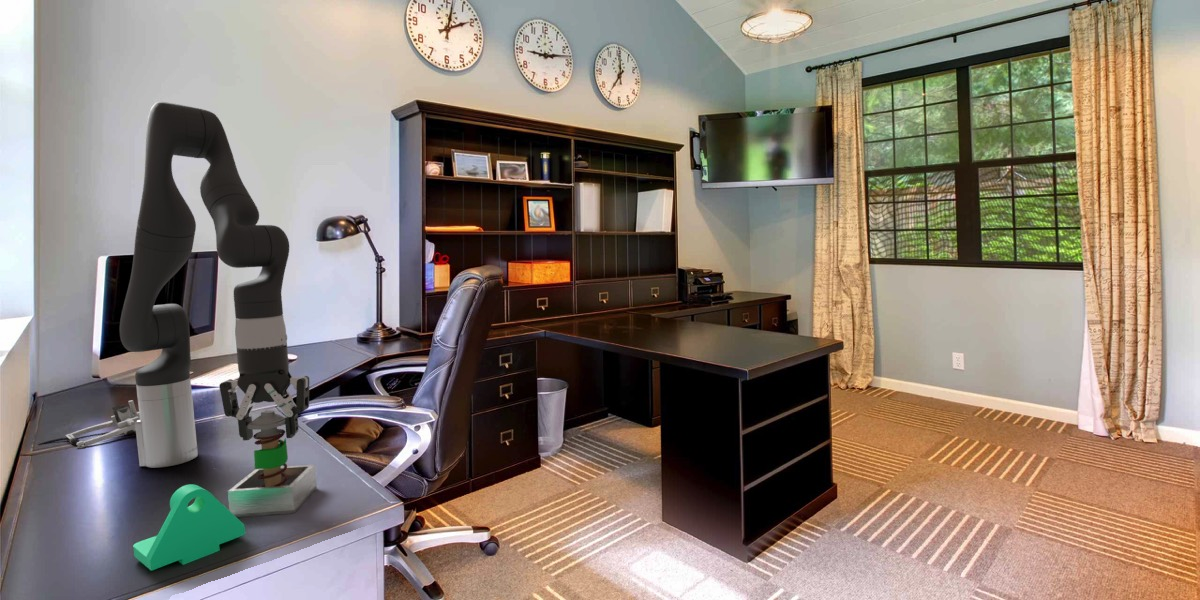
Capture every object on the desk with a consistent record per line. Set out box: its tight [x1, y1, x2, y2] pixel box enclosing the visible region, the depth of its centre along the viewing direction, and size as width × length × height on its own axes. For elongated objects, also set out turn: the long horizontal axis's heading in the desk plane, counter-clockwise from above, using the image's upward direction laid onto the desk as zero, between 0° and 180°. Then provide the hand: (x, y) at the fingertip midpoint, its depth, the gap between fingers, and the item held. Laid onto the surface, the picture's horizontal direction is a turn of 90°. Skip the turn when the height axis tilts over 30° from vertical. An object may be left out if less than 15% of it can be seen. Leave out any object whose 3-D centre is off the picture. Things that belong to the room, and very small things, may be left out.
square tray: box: [227, 464, 318, 518], centre depth 104 cm, size 10×10×4 cm
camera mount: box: [132, 483, 246, 571], centre depth 88 cm, size 12×8×10 cm, turn 143°
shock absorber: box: [247, 410, 289, 487], centre depth 103 cm, size 6×6×15 cm
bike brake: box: [37, 399, 140, 449], centre depth 144 cm, size 14×7×20 cm
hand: (269, 437), depth 103 cm, fingers open, 6 cm apart
